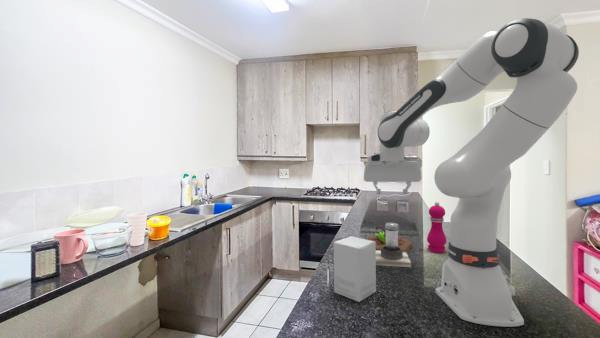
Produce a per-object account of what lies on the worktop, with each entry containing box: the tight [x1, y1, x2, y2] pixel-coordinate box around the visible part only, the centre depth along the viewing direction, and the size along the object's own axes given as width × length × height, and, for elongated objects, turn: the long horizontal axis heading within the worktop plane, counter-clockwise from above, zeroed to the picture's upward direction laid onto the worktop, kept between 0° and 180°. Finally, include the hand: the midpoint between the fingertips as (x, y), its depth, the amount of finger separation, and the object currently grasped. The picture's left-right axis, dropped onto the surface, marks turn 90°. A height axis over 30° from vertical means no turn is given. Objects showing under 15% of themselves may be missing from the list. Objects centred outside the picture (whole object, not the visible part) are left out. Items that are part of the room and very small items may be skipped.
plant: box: [365, 225, 413, 254], centre depth 128 cm, size 20×20×11 cm
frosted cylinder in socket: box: [384, 222, 399, 251], centre depth 112 cm, size 5×5×12 cm
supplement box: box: [333, 235, 377, 303], centre depth 88 cm, size 9×9×15 cm
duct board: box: [376, 245, 412, 268], centre depth 113 cm, size 12×12×4 cm
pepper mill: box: [426, 201, 448, 254], centre depth 122 cm, size 7×7×20 cm
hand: (391, 193), depth 112 cm, fingers open, 8 cm apart
